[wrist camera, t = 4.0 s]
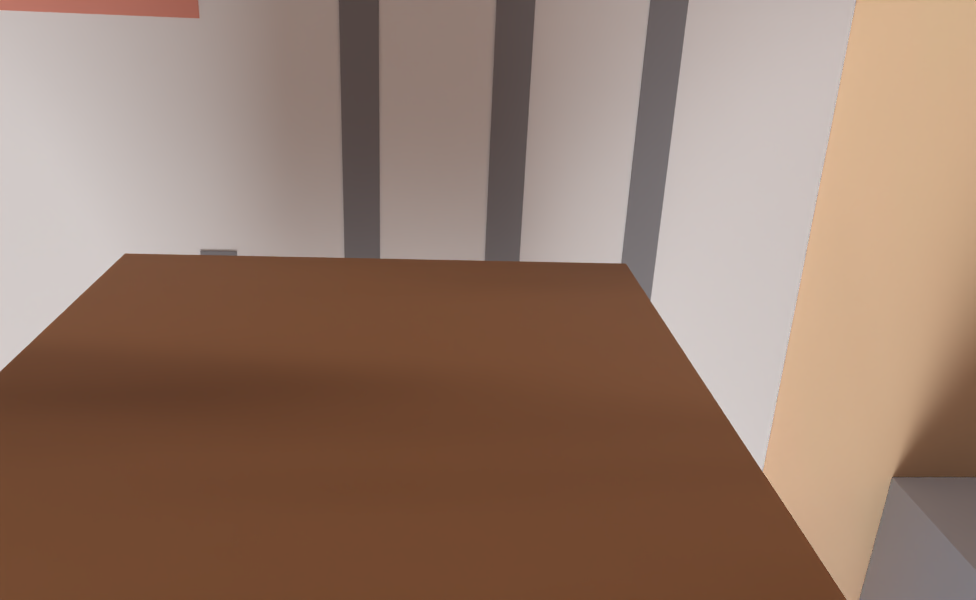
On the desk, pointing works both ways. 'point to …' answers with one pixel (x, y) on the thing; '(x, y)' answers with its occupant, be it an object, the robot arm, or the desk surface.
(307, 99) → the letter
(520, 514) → the walnut block
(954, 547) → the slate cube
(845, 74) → the desk surface
